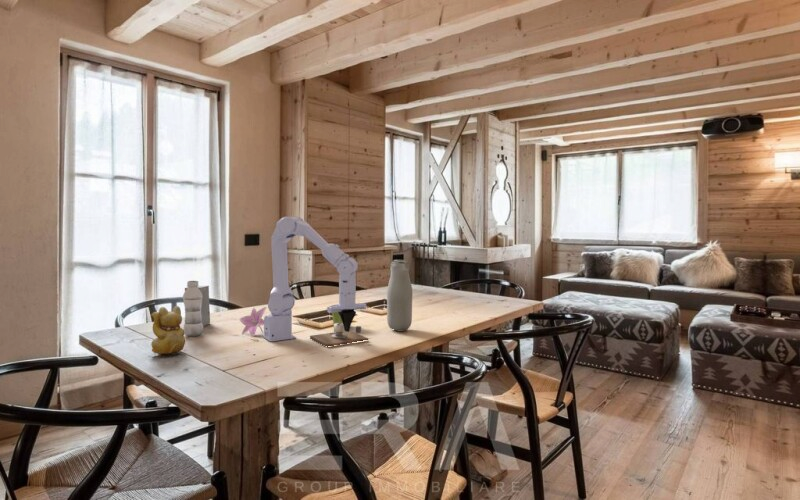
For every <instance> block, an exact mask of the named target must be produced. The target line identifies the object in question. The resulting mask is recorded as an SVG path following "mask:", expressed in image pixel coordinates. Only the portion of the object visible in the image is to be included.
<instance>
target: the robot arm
mask: <svg viewBox="0 0 800 500" xmlns="http://www.w3.org/2000/svg"><path fill="white" fill-rule="evenodd" d="M275 224H276V226H275V229H274V231H273V233H272V234H271V235H272V236H271V237H270V238H271V239H270V242H271V263H272V264H271V265H272V266H271V267H272V268H271V269H272V283H273V284H272V285H273V288H272V289H271V291H270V293H269V300H268V301H267V302H268V303H267V308H268V311H269V312H270V314H267V315H264V316H263V317H264V319H263V320H264V325H263V338H264V339H266V340H267V341H269V342H277V341H285V340H291V339H292V340H293V339H297V337H296V336H295V335H293V334H292V333H293V330H292V329H293V327H292V325H293V324H292V323H293V322H292V321H293V317H292V316H293V315H292V314H293V312H292V311H293V310H292V309H293V308H294V306H295V302H296V301H295V297H294V295H293V289H292V288H291V287H290V285H289V284H290V283H289V263H288V262H289V261H288V243H289V242H290V241H291V240H292V239H293V238H294V237H296V236H300V237H305V239H307V240H308V241H309V242H311V243H312V244H313V245H314V246H316V247H317V248H318V249H320V251H321V253H322V257H324V258H325V260H327V261H328V262H329V263H330V264H331V265H333V267H335V268H336V271H337V273H338V274H339V280H338V281H339V282H338V285H339V286H338V288H339V289H338V291H339V292H338V304H339V305H338V304H334V305H335V306H332V305H329V306H327V307H326V309H327V311H326V312H327V313H329V314H332V312H338V313H339V315H340V317H341V319H342V322H343V325H344V330H345V331H346V332H349V330H350V326H352V323H353V320H354V318H355V317H356V315H357V314H356V313H357V312H356V310H358V311H359V310H367V303H365V302H360V303H359V302H358V303H356V293H357V292H356V288H357V285H356V283H357V282H356V277H357V276H356V274H357V271H358V269H359V268H358V267H359V266H358V265H359V264H358V262H357V260H355V258H353V257H350V255H349V254H348V253H346V252H344V251H343V250H342V249H341V248H340V245H339V244H337V243H335V244H334V243H328V241H326V240H325V239H324V238H323V237H322V236H321V235H320V234H319V233H318V232H317V231H316V230H315V229H314V228H313V227H312V225H310V224H309V222H308V221H307V222H306V220H304V219H303V218H301V217H299V216H295V217H294V216H283V217H281V218H280V219H279V220H278V221H277V222H276V223H275Z"/></svg>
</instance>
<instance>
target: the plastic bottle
mask: <svg viewBox="0 0 800 500" xmlns="http://www.w3.org/2000/svg"><path fill="white" fill-rule="evenodd" d="M198 286H200V285H199V281H198V280H188V281H186V288H187V287H188V288H187V290H186V291H185V290H184V292H183V294H182V299H183V306H184V324H183V328H182V329H183V330H184V332H185V333H184V335H185V336H186V337H197V336H200V335H202V334H203V332H204V327H203V324H202V317H201V305H202V296H203V295H202V293H201V291H200V290H199V289H198Z"/></svg>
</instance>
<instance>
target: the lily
mask: <svg viewBox="0 0 800 500" xmlns="http://www.w3.org/2000/svg"><path fill="white" fill-rule="evenodd" d="M256 309H257V308H255V307H253V308H252V309H251V312H250V315H245V316H242V317H240V318H239V322H240V323H241V324H242V325H244V327H243V330H242V332H241V335H244V334H246V333H249V335H250V336H251V338H254V337H255V336H256V335H255V334H256V333H257V329H258V327H259V329H260V330H261V332H263V329H262V327H261V326H264V319H263V318H262V317H264V316H263V315H264V314H265V311H266V310H267V306H264V307H262V308H261V309H259V310H256Z"/></svg>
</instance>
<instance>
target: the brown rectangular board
mask: <svg viewBox="0 0 800 500" xmlns="http://www.w3.org/2000/svg"><path fill="white" fill-rule="evenodd" d="M309 339H310V340H311V339H312V341H313V340H314V341H313V342H315V341H316V342H315V343H317V342H318V343H317V344H319V343H320V344H319V345H321V344H322V345H321V346H323V345H325V346H327V347H328V346H334V345H340V344H347V343H352V342H357V341H363V340H368V341H369V338H368V337H366V336H364V335H361V334H360V333H355V332H334V331H333V332H327V333H322V334H321V333H319V334H313V335H310V336H309ZM325 346H324V347H325Z"/></svg>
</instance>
